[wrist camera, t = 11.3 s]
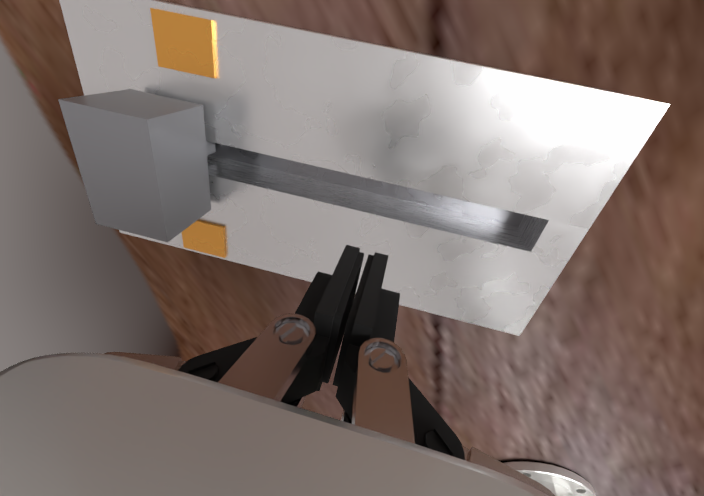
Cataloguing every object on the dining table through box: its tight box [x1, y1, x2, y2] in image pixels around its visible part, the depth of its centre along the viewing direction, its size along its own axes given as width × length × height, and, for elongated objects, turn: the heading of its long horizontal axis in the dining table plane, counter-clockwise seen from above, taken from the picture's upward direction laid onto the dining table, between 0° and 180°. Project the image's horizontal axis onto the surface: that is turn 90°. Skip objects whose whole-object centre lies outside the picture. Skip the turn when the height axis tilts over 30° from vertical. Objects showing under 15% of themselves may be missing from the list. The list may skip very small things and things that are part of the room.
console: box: [59, 0, 670, 336], centre depth 20 cm, size 28×14×4 cm, turn 80°
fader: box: [58, 89, 216, 242], centre depth 18 cm, size 4×6×7 cm, turn 170°
